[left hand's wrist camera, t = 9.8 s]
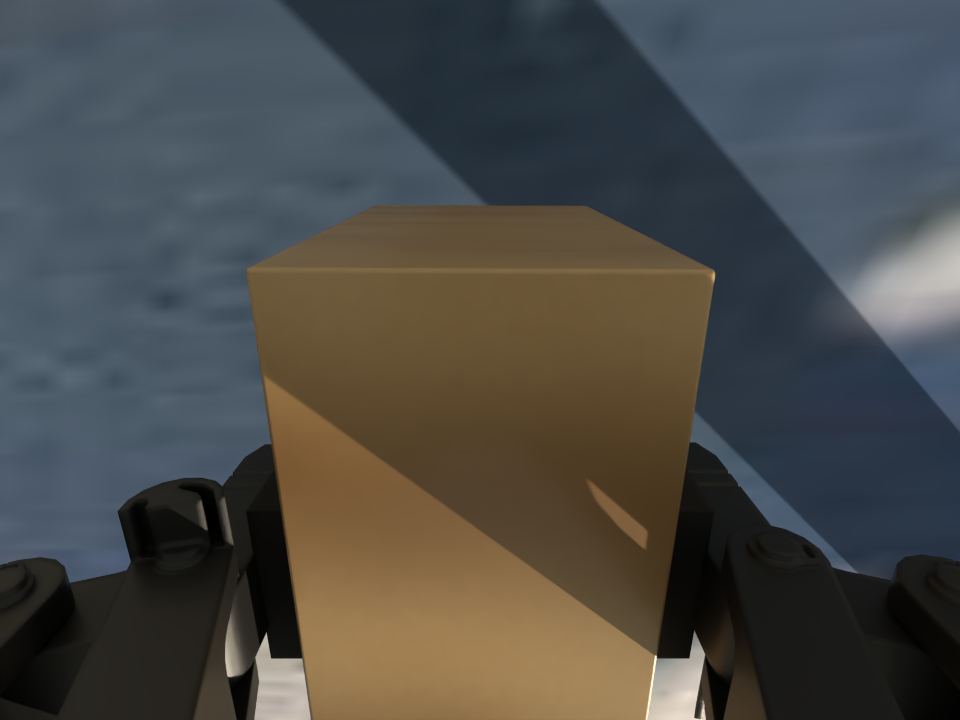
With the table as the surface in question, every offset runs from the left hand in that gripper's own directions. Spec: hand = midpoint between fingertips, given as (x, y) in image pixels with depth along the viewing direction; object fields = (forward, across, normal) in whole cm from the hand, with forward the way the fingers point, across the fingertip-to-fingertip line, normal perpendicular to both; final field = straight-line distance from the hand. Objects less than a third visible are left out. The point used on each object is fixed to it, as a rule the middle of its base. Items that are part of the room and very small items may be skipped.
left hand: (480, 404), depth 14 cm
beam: (+1, 0, -21) cm, 21 cm away
